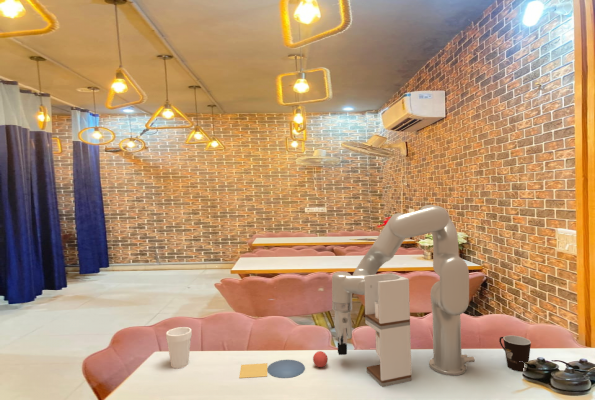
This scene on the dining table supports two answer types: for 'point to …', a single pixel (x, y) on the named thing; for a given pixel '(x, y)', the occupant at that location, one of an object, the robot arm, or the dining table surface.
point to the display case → (389, 326)
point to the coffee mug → (516, 351)
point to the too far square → (253, 370)
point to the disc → (286, 368)
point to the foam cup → (179, 346)
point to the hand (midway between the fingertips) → (342, 353)
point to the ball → (320, 359)
